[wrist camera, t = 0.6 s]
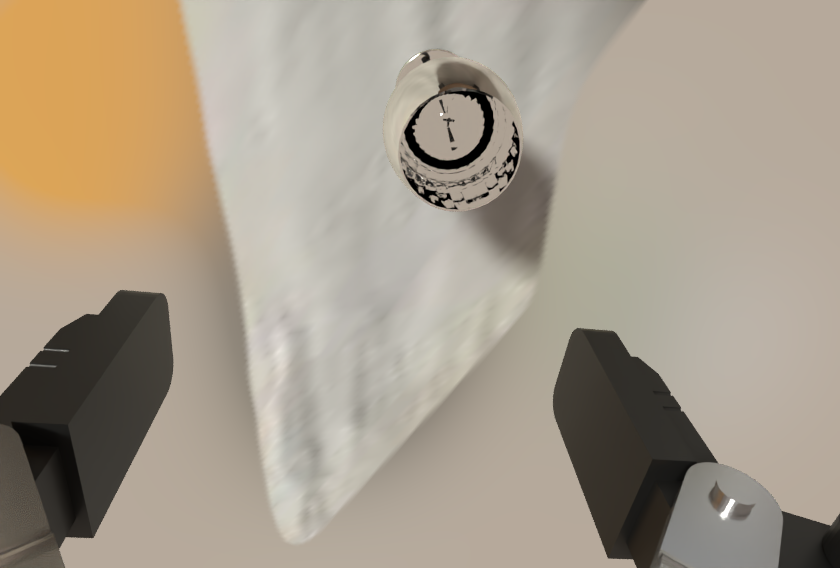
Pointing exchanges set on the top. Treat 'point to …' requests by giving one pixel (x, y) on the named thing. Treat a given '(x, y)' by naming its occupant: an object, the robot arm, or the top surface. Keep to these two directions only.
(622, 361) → the robot arm
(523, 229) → the top surface
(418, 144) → the wineglass
